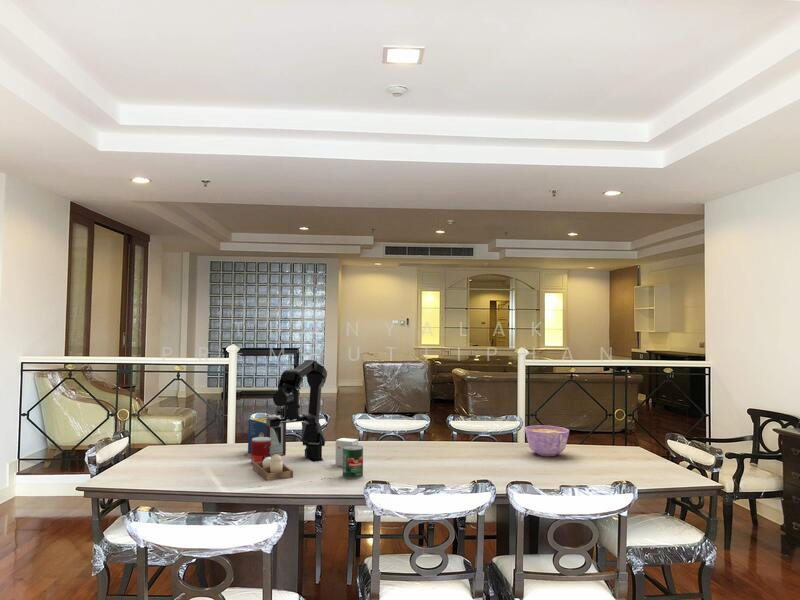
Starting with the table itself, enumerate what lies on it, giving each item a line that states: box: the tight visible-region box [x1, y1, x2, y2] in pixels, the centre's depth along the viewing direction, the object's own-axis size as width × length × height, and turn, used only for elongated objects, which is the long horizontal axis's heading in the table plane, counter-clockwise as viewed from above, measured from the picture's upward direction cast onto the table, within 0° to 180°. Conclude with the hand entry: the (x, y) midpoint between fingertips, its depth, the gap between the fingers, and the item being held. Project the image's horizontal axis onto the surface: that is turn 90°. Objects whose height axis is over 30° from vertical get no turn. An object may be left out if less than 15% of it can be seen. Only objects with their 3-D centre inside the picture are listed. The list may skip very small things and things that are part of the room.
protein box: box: [247, 416, 287, 457], centre depth 251 cm, size 10×15×16 cm
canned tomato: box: [342, 444, 364, 480], centre depth 215 cm, size 8×8×11 cm
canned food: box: [250, 437, 271, 465], centre depth 229 cm, size 8×8×11 cm
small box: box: [335, 437, 359, 467], centre depth 232 cm, size 8×6×10 cm
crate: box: [252, 462, 294, 482], centre depth 213 cm, size 10×20×4 cm, turn 29°
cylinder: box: [270, 454, 284, 473], centre depth 209 cm, size 5×5×8 cm
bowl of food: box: [524, 424, 570, 457], centre depth 256 cm, size 20×20×12 cm
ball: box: [262, 457, 271, 468], centre depth 217 cm, size 5×5×5 cm
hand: (291, 442), depth 219 cm, fingers open, 9 cm apart
